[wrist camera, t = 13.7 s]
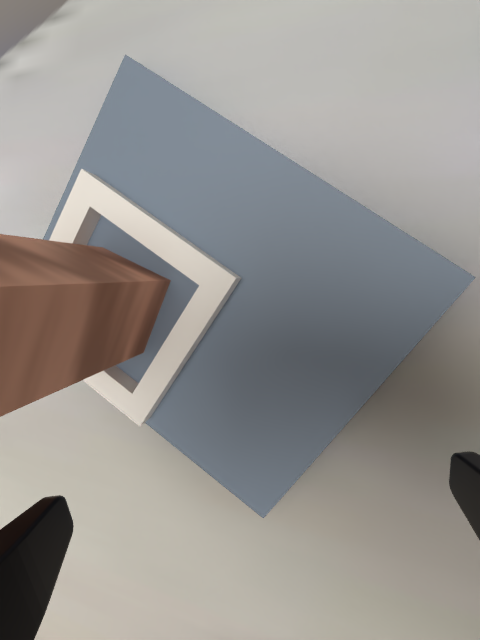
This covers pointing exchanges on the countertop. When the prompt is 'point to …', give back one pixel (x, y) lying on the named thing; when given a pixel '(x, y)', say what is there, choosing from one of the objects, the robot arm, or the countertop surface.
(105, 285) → the terracotta block
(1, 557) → the robot arm
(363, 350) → the board
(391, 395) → the countertop surface
